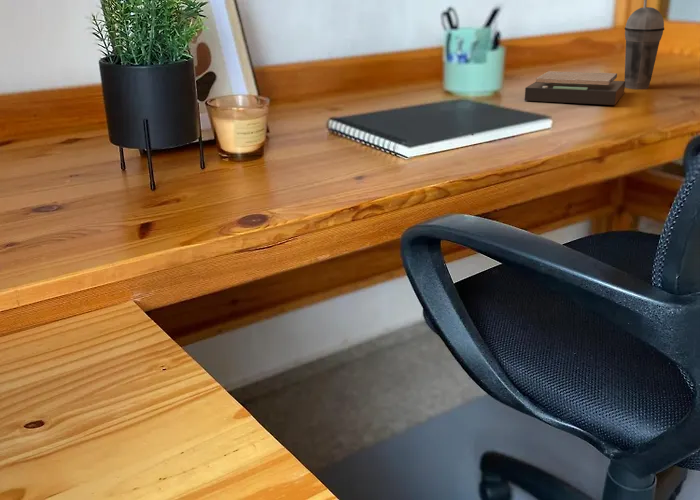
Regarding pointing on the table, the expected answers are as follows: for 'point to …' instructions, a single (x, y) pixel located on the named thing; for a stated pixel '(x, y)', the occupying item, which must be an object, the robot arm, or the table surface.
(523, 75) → the table surface
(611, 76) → the pan
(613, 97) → the scale
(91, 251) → the table surface
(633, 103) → the table surface
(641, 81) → the beverage cup
